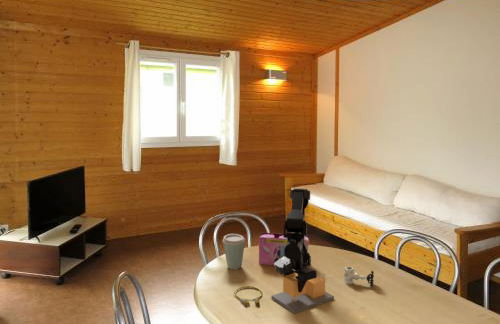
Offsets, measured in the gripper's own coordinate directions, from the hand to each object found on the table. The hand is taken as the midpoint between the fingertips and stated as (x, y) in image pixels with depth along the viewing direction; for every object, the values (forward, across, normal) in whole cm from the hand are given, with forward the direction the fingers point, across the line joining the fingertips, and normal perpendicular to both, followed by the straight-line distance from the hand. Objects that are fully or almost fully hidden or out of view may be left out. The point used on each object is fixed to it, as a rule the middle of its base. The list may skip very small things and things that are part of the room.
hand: (294, 289), depth 151 cm
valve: (+6, +2, +33) cm, 34 cm away
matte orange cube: (+1, 0, 0) cm, 1 cm away
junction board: (+6, -1, +5) cm, 8 cm away
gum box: (+6, -34, +21) cm, 41 cm away
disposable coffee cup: (+6, -43, -1) cm, 43 cm away
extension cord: (+6, -14, -12) cm, 20 cm away
